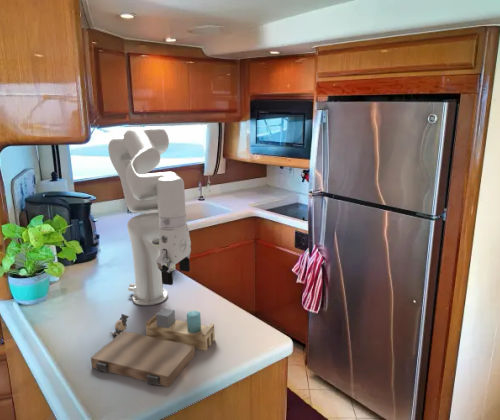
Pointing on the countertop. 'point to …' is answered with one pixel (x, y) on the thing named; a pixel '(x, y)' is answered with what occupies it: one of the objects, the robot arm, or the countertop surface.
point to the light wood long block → (181, 333)
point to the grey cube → (165, 318)
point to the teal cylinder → (193, 322)
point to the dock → (144, 358)
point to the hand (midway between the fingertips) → (176, 277)
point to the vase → (120, 325)
